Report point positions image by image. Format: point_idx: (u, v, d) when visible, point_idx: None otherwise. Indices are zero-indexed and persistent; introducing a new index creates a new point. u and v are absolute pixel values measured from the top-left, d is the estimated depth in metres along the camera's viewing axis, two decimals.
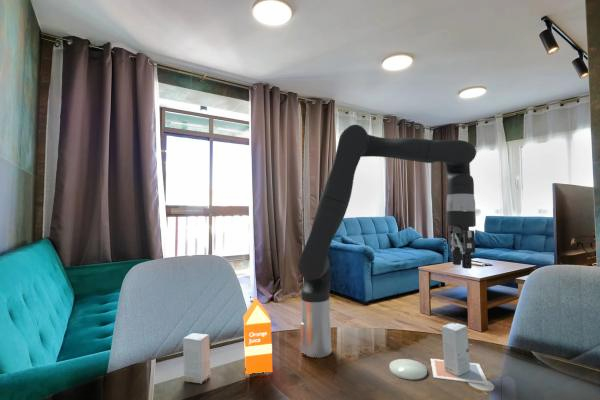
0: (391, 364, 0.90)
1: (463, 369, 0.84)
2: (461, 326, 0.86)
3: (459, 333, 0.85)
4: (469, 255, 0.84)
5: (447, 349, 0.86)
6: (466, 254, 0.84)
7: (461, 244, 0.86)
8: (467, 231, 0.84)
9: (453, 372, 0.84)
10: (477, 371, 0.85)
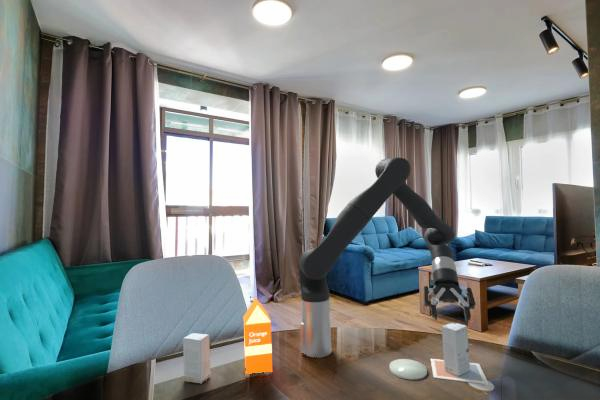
0: (391, 364, 0.90)
1: (463, 369, 0.84)
2: (461, 326, 0.86)
3: (459, 333, 0.85)
4: None
5: (447, 349, 0.86)
6: (469, 308, 0.93)
7: None
8: None
9: (453, 372, 0.84)
10: (477, 371, 0.85)
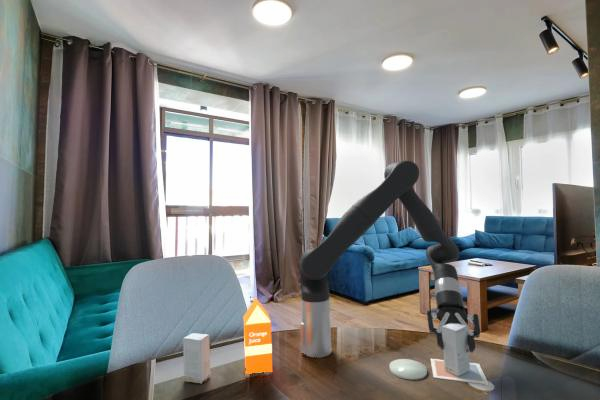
0: (391, 364, 0.90)
1: (463, 369, 0.84)
2: (461, 326, 0.86)
3: (459, 333, 0.85)
4: None
5: (447, 349, 0.86)
6: (474, 337, 0.86)
7: None
8: None
9: (453, 372, 0.84)
10: (477, 371, 0.85)
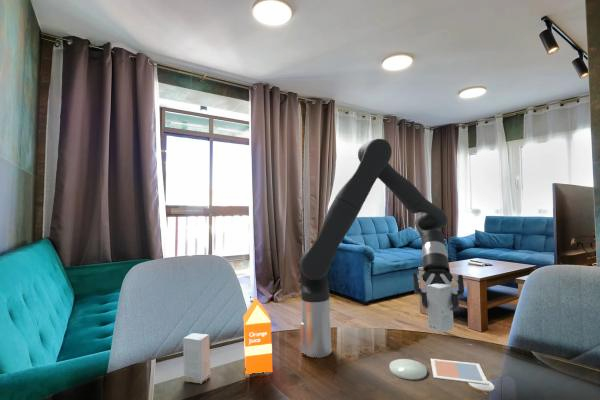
0: (391, 364, 0.90)
1: (447, 326, 0.85)
2: (445, 285, 0.87)
3: (443, 291, 0.86)
4: None
5: (431, 307, 0.86)
6: (457, 295, 0.87)
7: None
8: None
9: (436, 329, 0.85)
10: (477, 371, 0.85)
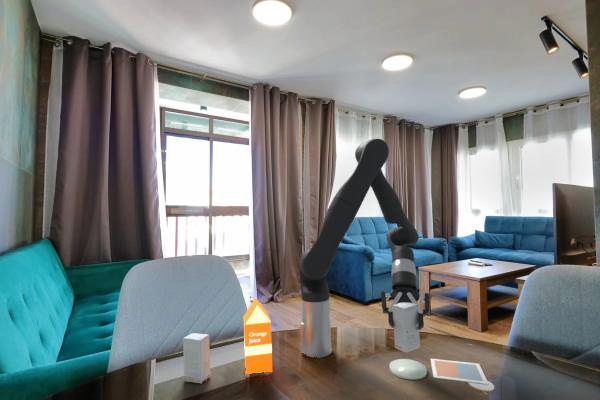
0: (391, 364, 0.90)
1: (413, 346, 0.86)
2: (411, 304, 0.88)
3: (408, 311, 0.87)
4: None
5: (397, 327, 0.87)
6: (423, 315, 0.88)
7: None
8: None
9: (402, 349, 0.86)
10: (477, 371, 0.85)
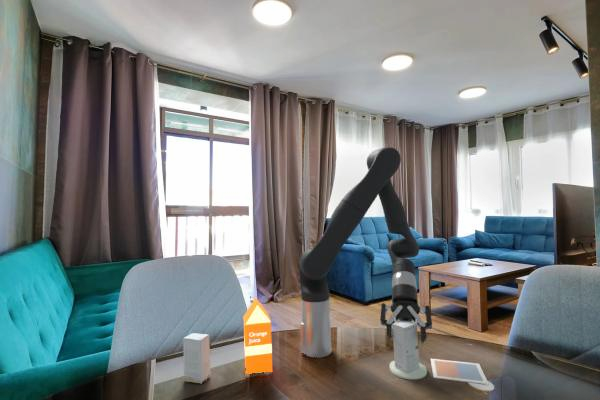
0: (391, 364, 0.90)
1: (412, 365, 0.86)
2: (411, 323, 0.88)
3: (408, 330, 0.87)
4: (425, 330, 0.88)
5: (397, 346, 0.87)
6: (426, 328, 0.87)
7: None
8: None
9: (402, 369, 0.86)
10: (477, 371, 0.85)
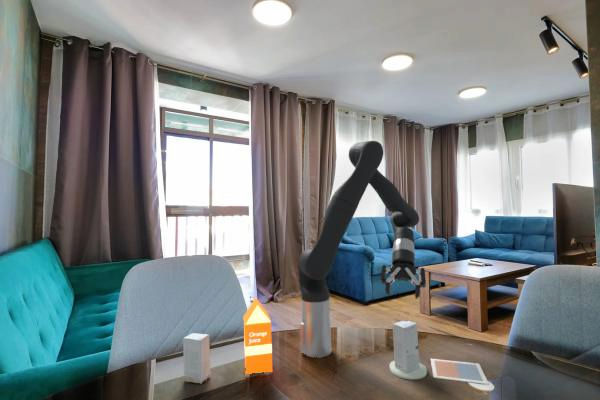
0: (391, 364, 0.90)
1: (412, 365, 0.86)
2: (411, 324, 0.88)
3: (409, 330, 0.86)
4: (419, 288, 1.01)
5: (397, 346, 0.87)
6: (420, 286, 1.00)
7: None
8: None
9: (402, 369, 0.86)
10: (477, 371, 0.85)
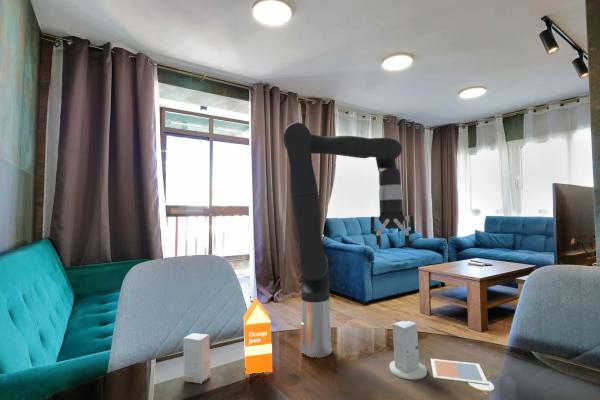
0: (391, 364, 0.90)
1: (412, 365, 0.86)
2: (411, 324, 0.88)
3: (409, 330, 0.86)
4: None
5: (397, 346, 0.87)
6: None
7: (404, 227, 1.02)
8: (412, 216, 1.02)
9: (402, 369, 0.86)
10: (477, 371, 0.85)
